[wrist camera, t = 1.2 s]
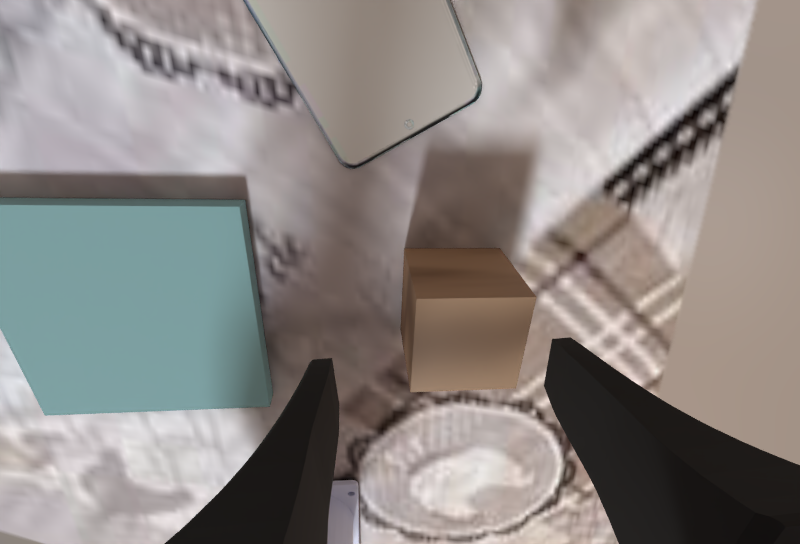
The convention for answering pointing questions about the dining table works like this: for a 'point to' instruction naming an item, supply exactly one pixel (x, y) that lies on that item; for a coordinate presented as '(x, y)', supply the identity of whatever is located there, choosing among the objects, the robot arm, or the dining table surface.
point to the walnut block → (463, 319)
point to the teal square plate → (133, 304)
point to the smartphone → (371, 67)
